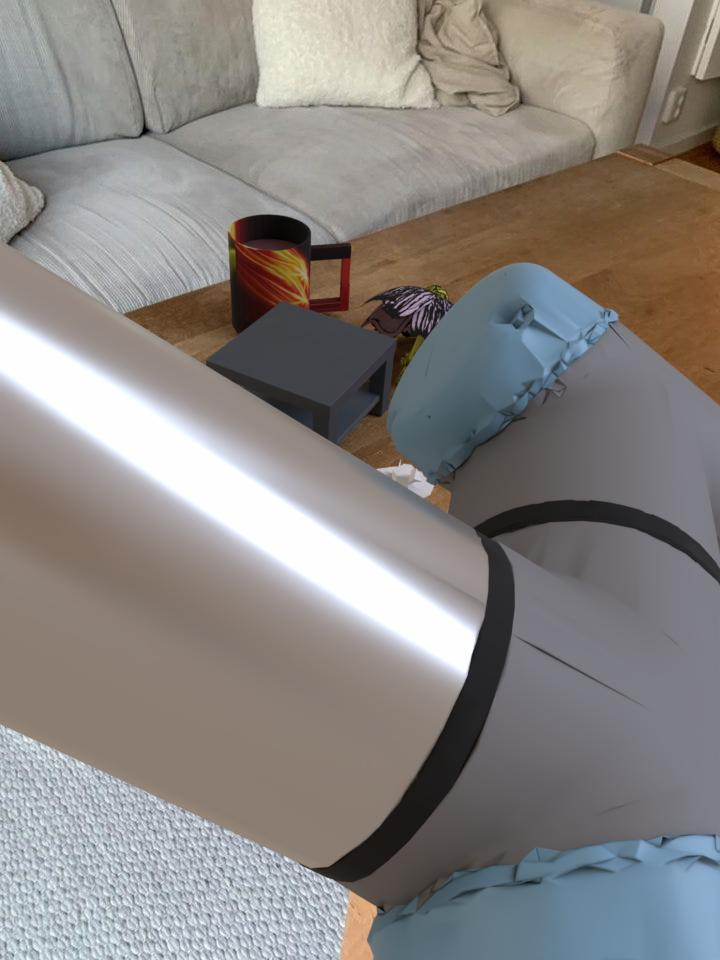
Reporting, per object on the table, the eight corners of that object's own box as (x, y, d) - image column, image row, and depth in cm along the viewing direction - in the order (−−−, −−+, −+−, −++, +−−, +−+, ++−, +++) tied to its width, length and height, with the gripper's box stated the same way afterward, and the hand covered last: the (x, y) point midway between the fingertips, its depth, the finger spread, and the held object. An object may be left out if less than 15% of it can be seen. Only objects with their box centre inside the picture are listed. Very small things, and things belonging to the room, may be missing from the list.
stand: (210, 432, 86) (205, 359, 80) (282, 369, 95) (282, 300, 89) (326, 479, 81) (330, 406, 75) (389, 408, 91) (397, 338, 85)
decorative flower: (522, 300, 91) (417, 290, 82) (500, 402, 94) (397, 401, 86) (440, 279, 102) (340, 267, 93) (423, 370, 106) (325, 367, 97)
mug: (350, 318, 105) (356, 229, 97) (261, 351, 98) (259, 258, 90) (304, 287, 110) (306, 200, 102) (217, 317, 103) (211, 226, 95)
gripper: (399, 764, 34) (267, 691, 54) (805, 578, 44) (566, 574, 63) (348, 592, 34) (234, 582, 54) (766, 443, 44) (539, 481, 63)
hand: (414, 578), depth 59 cm, fingers open, 13 cm apart
